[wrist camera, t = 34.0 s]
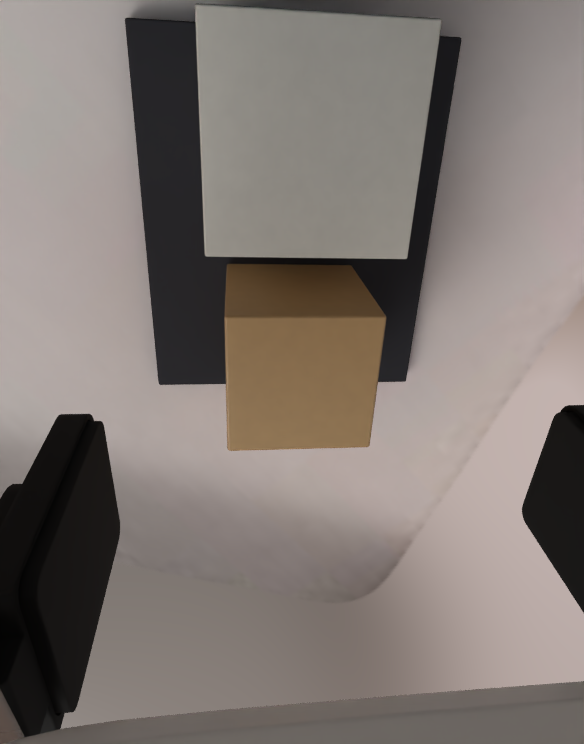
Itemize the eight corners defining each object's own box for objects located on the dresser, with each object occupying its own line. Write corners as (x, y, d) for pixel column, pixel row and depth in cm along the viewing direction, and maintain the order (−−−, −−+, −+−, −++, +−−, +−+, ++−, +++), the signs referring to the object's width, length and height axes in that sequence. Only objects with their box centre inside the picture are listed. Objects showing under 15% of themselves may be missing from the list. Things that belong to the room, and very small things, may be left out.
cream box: (205, 27, 15) (194, 2, 11) (390, 37, 16) (442, 18, 12) (211, 220, 18) (204, 257, 14) (369, 223, 18) (407, 259, 14)
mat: (127, 19, 15) (124, 17, 15) (456, 39, 16) (462, 37, 16) (160, 379, 21) (158, 385, 20) (402, 376, 22) (406, 382, 21)
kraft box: (226, 263, 18) (224, 316, 14) (351, 264, 19) (387, 316, 14) (229, 375, 20) (227, 452, 16) (341, 373, 21) (369, 447, 16)
